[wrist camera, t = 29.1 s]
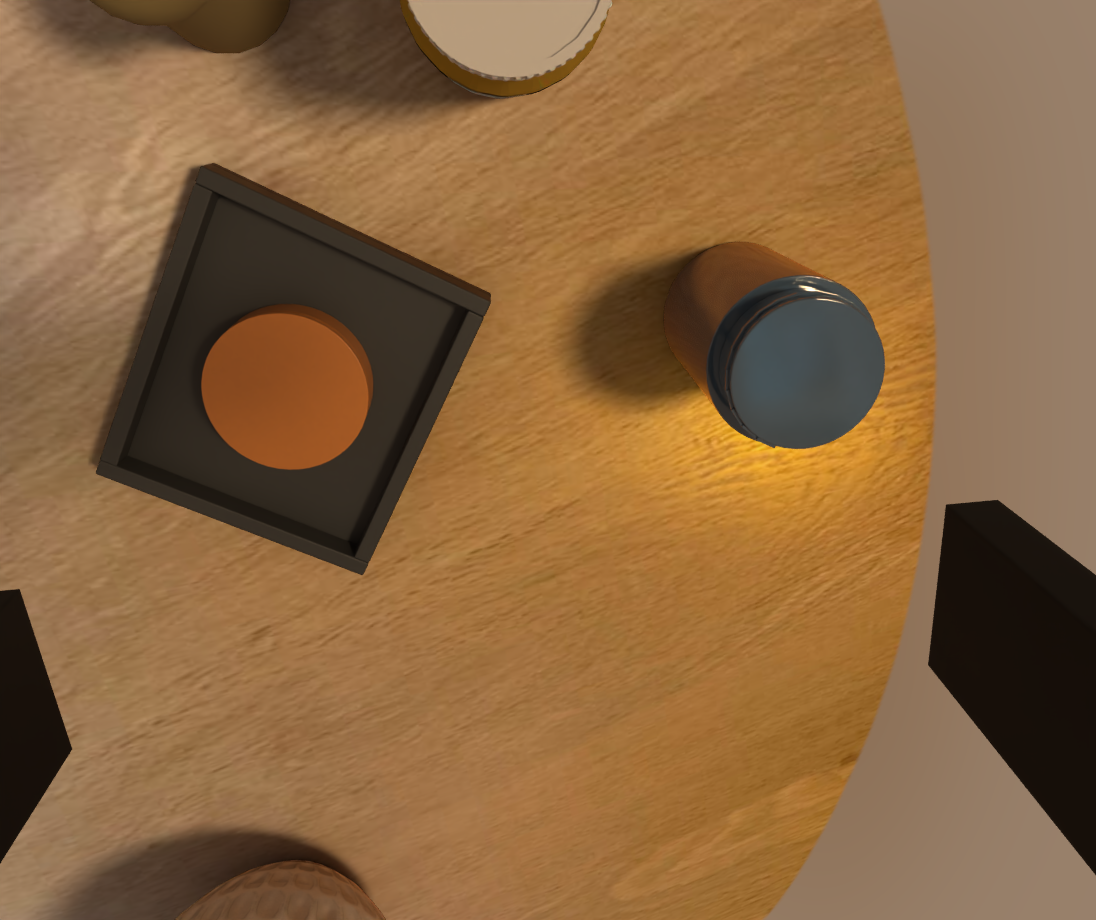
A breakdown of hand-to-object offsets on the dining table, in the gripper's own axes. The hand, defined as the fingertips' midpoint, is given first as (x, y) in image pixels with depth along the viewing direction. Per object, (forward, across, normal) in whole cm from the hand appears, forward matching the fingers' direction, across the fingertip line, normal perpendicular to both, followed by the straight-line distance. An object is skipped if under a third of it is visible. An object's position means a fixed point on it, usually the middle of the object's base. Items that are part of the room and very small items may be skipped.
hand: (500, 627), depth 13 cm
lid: (+29, -10, -5) cm, 31 cm away
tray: (+32, -10, -5) cm, 33 cm away
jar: (+32, +12, -3) cm, 34 cm away
